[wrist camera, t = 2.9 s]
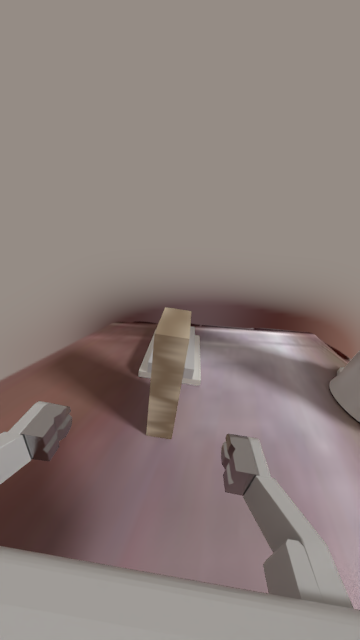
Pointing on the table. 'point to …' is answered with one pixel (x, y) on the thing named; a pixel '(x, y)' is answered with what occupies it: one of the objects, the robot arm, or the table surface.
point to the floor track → (191, 364)
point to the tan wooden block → (167, 370)
